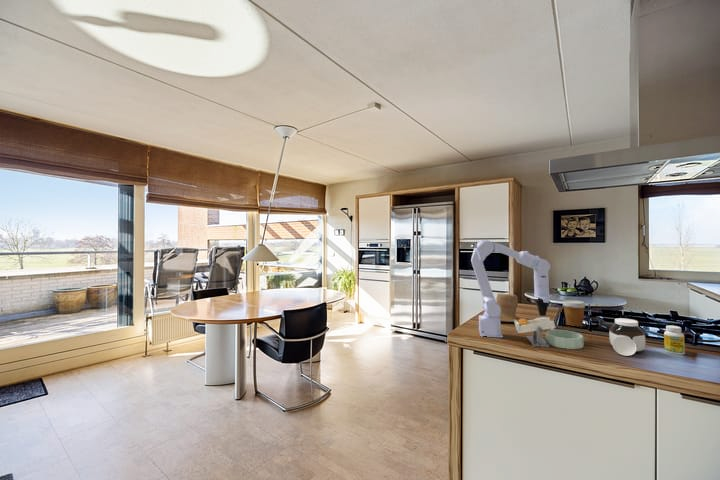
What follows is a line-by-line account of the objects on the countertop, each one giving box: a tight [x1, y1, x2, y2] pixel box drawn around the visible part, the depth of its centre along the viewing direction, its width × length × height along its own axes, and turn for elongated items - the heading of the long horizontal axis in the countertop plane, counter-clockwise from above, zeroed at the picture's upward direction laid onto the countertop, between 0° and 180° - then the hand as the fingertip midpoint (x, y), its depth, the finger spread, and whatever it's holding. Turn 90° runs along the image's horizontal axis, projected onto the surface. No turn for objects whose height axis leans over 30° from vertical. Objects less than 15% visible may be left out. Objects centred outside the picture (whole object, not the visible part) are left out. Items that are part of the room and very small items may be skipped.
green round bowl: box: [545, 329, 585, 350], centre depth 128 cm, size 13×13×4 cm
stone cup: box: [495, 293, 521, 323], centre depth 165 cm, size 15×12×15 cm
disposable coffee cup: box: [561, 299, 586, 327], centre depth 152 cm, size 10×10×12 cm
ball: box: [518, 317, 528, 326], centre depth 133 cm, size 4×4×4 cm
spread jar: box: [608, 317, 646, 357], centre depth 117 cm, size 12×11×12 cm
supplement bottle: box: [663, 324, 686, 356], centre depth 115 cm, size 5×5×10 cm
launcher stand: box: [526, 327, 551, 348], centre depth 131 cm, size 6×12×8 cm, turn 163°
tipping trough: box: [513, 316, 556, 334], centre depth 135 cm, size 14×15×4 cm
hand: (542, 315), depth 138 cm, fingers closed
